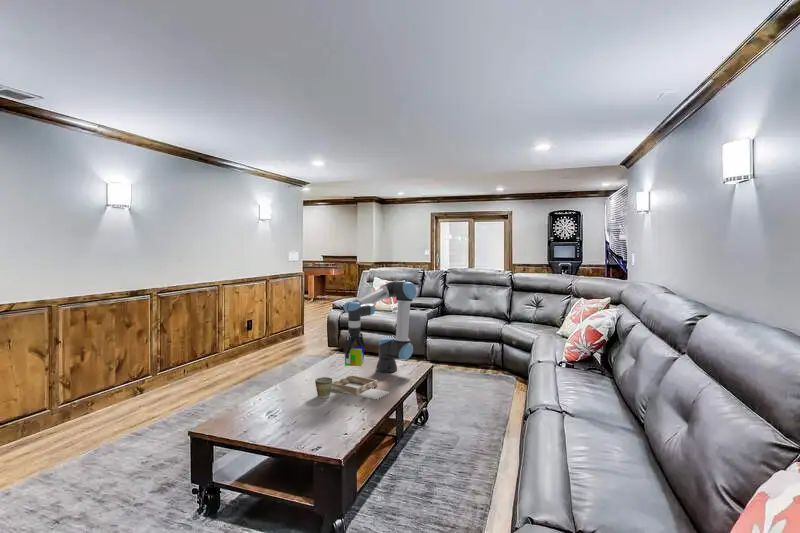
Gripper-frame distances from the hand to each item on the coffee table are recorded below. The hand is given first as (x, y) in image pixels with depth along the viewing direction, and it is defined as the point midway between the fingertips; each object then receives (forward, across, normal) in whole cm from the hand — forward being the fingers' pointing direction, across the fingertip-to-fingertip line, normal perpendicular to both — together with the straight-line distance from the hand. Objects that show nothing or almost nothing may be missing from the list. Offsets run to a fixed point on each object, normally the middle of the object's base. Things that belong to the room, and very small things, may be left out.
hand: (354, 361), depth 271 cm
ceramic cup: (+17, +21, -6) cm, 28 cm away
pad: (+17, +4, +18) cm, 25 cm away
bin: (+17, 0, 0) cm, 17 cm away
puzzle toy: (+2, 0, 0) cm, 2 cm away
